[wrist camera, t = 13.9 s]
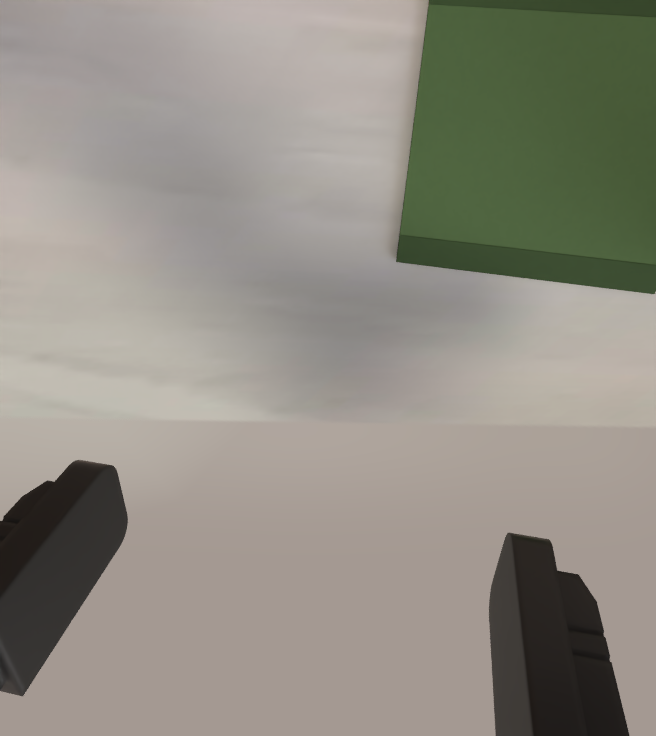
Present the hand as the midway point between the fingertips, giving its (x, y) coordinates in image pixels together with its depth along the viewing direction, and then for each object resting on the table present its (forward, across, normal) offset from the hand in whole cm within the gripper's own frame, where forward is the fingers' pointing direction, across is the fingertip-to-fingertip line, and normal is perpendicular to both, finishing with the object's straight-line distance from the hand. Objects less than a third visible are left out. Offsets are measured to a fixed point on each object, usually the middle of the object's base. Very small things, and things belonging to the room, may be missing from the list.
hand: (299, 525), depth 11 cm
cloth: (+23, -7, -4) cm, 25 cm away
